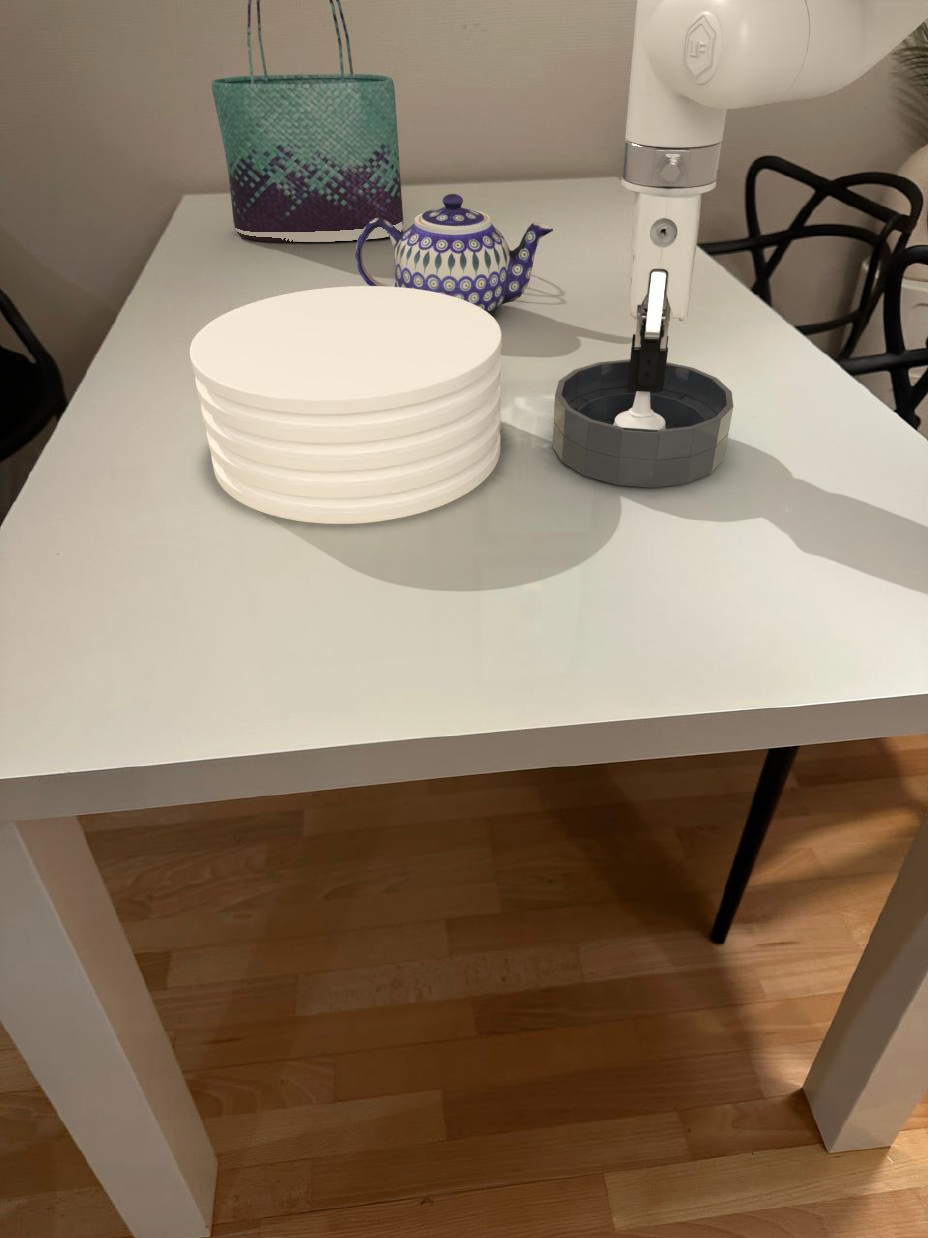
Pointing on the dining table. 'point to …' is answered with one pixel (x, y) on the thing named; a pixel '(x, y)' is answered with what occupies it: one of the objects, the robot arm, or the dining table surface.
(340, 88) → the basket
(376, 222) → the teapot
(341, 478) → the plate stack
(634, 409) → the chess piece
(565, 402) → the grey faceted round tub
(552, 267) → the dining table surface
